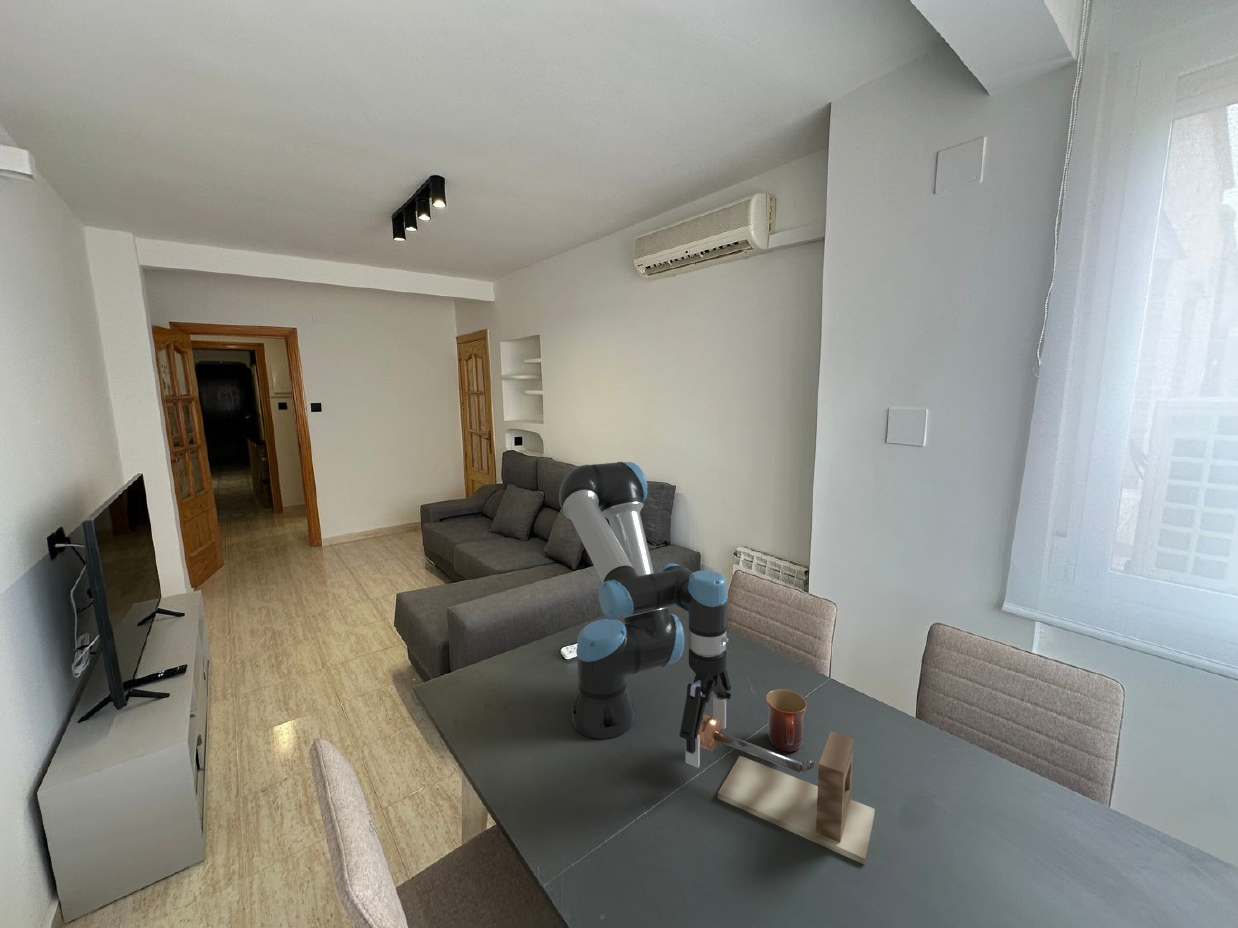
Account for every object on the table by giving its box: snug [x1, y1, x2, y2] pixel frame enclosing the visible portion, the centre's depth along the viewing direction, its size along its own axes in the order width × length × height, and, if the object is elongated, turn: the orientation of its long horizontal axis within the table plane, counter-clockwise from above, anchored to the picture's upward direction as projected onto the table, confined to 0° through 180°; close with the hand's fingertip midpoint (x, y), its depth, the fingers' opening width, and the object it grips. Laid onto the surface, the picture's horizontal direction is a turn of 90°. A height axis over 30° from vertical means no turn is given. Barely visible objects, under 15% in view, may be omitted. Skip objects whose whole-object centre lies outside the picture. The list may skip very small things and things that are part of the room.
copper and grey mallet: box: [698, 713, 815, 774], centre depth 100 cm, size 24×6×6 cm, turn 56°
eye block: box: [816, 730, 855, 842], centre depth 91 cm, size 4×10×13 cm, turn 146°
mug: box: [765, 688, 808, 753], centre depth 111 cm, size 12×9×10 cm
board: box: [717, 755, 876, 866], centre depth 96 cm, size 26×12×1 cm, turn 56°
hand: (706, 744), depth 105 cm, fingers open, 13 cm apart
